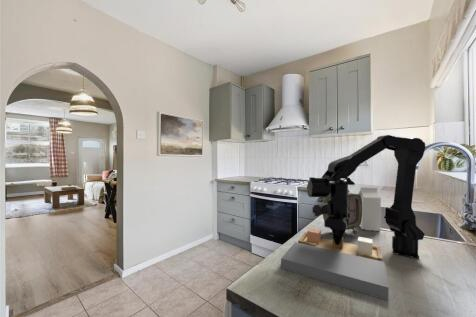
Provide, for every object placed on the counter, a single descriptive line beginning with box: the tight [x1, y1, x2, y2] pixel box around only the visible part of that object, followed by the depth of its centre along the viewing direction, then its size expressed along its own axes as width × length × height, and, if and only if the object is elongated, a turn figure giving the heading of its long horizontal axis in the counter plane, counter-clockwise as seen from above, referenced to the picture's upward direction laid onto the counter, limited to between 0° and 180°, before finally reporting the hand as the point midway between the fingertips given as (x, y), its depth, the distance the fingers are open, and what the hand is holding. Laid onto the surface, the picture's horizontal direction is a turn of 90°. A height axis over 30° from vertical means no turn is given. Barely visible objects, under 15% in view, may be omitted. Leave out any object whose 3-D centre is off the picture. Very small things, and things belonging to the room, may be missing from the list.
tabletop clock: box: [322, 189, 362, 235], centre depth 91 cm, size 14×9×25 cm, turn 117°
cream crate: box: [357, 236, 373, 255], centre depth 70 cm, size 4×4×4 cm
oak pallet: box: [297, 231, 383, 262], centre depth 74 cm, size 25×10×9 cm, turn 59°
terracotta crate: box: [306, 227, 322, 245], centre depth 78 cm, size 4×4×4 cm
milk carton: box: [357, 186, 382, 232], centre depth 99 cm, size 7×7×19 cm
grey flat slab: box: [280, 241, 389, 301], centre depth 62 cm, size 26×14×3 cm, turn 58°
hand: (338, 242), depth 74 cm, fingers closed on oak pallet, 4 cm apart
